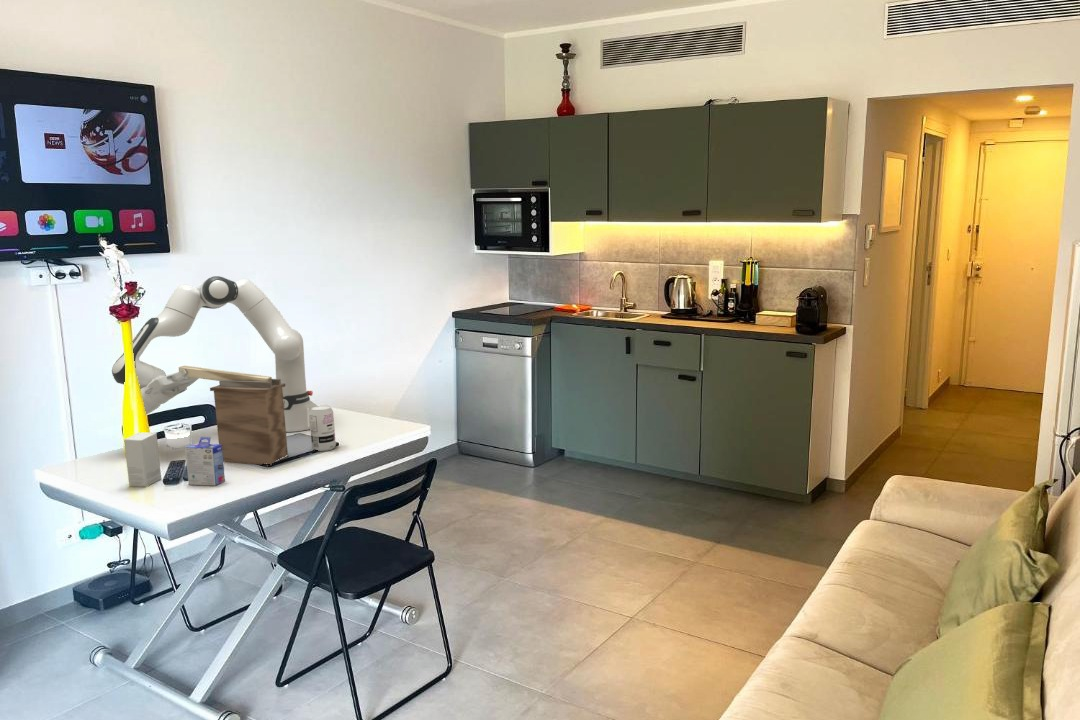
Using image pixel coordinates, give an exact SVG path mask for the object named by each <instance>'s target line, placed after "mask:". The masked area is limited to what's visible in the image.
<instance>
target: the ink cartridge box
mask: <svg viewBox="0 0 1080 720" xmlns="http://www.w3.org/2000/svg"><path fill="white" fill-rule="evenodd" d="M211 438H212V437H209V436H207V437H206V436H201V437H200V438H199V442H198V443H194V444H191V445H188V446H186V447H185V457H186V468H187V469H186V470H187V482H188V485H191V486H193V485H197V486H217V485H219V484H221V483H224V482H226V476H225V467H224V462H223V453H222V444H219V443H211ZM203 440H204V441H203ZM205 440H206V441H205Z"/></svg>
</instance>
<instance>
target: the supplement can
mask: <svg viewBox="0 0 1080 720" xmlns="http://www.w3.org/2000/svg"><path fill="white" fill-rule="evenodd" d="M309 415H310V428H311V429H310V439H311V448H312V449H313V450H314V449H316V450H318V451H317V452H327V451H331V450H333V449H334V448H336V446H337V442H336V432H335V430H336V429H335V417H334V410H333V408H332V406H331V405H317V406H316V407H312V408H311V410H310V413H309Z"/></svg>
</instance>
